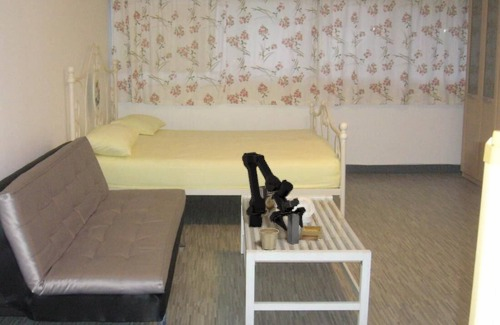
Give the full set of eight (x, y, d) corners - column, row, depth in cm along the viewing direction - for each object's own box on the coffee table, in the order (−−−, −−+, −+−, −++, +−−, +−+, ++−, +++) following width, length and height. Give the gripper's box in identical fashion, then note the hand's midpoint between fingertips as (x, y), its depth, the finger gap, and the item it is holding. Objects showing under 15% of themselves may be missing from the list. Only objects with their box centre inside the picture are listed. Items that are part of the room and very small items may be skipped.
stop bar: (287, 242, 291) (287, 214, 288) (293, 241, 293) (294, 213, 290) (292, 244, 287) (292, 216, 285) (298, 243, 289) (299, 215, 287)
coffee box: (264, 216, 336) (264, 188, 333) (256, 214, 341) (256, 186, 338) (276, 213, 342) (276, 186, 339) (269, 211, 347) (269, 184, 344)
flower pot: (281, 246, 285) (281, 228, 284) (275, 252, 276) (275, 234, 275) (262, 244, 288) (262, 226, 287) (256, 250, 279) (256, 232, 278)
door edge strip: (285, 239, 295) (285, 237, 295) (285, 238, 297) (285, 236, 297) (317, 240, 293) (317, 238, 293) (317, 239, 295) (317, 237, 295)
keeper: (301, 238, 297) (301, 231, 297) (302, 232, 307) (302, 225, 306) (321, 238, 296) (322, 232, 296) (321, 232, 306) (321, 226, 305)
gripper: (272, 195, 284) (285, 223, 277) (304, 190, 294) (317, 217, 286) (263, 208, 292) (276, 235, 285) (294, 202, 302) (307, 229, 294)
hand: (294, 229), depth 287 cm, fingers open, 9 cm apart
